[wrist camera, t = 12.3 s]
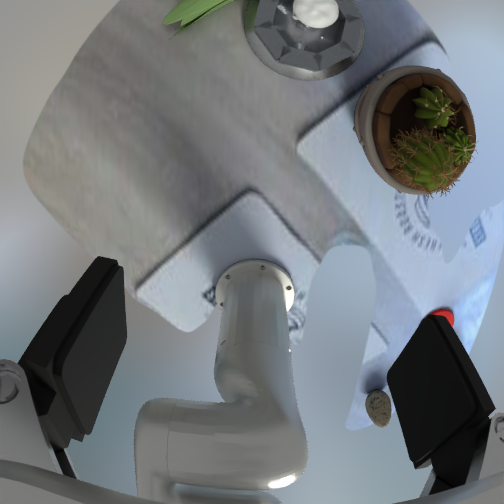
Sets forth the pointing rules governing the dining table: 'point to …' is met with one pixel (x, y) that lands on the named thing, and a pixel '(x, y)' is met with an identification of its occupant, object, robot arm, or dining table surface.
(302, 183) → the dining table surface
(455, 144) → the flowerpot
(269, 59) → the collar
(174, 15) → the edible corn
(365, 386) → the dining table surface
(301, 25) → the milkshake
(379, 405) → the decorative egg
